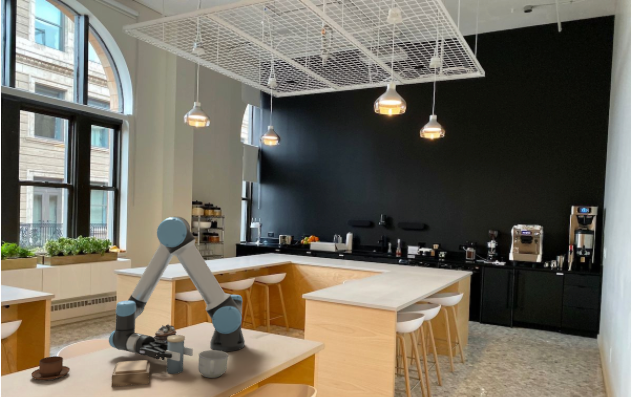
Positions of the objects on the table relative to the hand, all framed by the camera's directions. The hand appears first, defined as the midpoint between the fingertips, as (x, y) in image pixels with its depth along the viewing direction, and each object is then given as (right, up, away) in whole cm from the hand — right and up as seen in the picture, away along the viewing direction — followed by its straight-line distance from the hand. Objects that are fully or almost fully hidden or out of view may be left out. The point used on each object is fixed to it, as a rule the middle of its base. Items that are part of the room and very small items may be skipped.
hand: (185, 354), depth 173 cm
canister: (-5, -7, +2) cm, 9 cm away
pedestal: (-18, -6, -7) cm, 20 cm away
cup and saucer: (-47, -6, -7) cm, 48 cm away
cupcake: (-17, -7, +29) cm, 34 cm away
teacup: (+10, -8, -2) cm, 13 cm away
